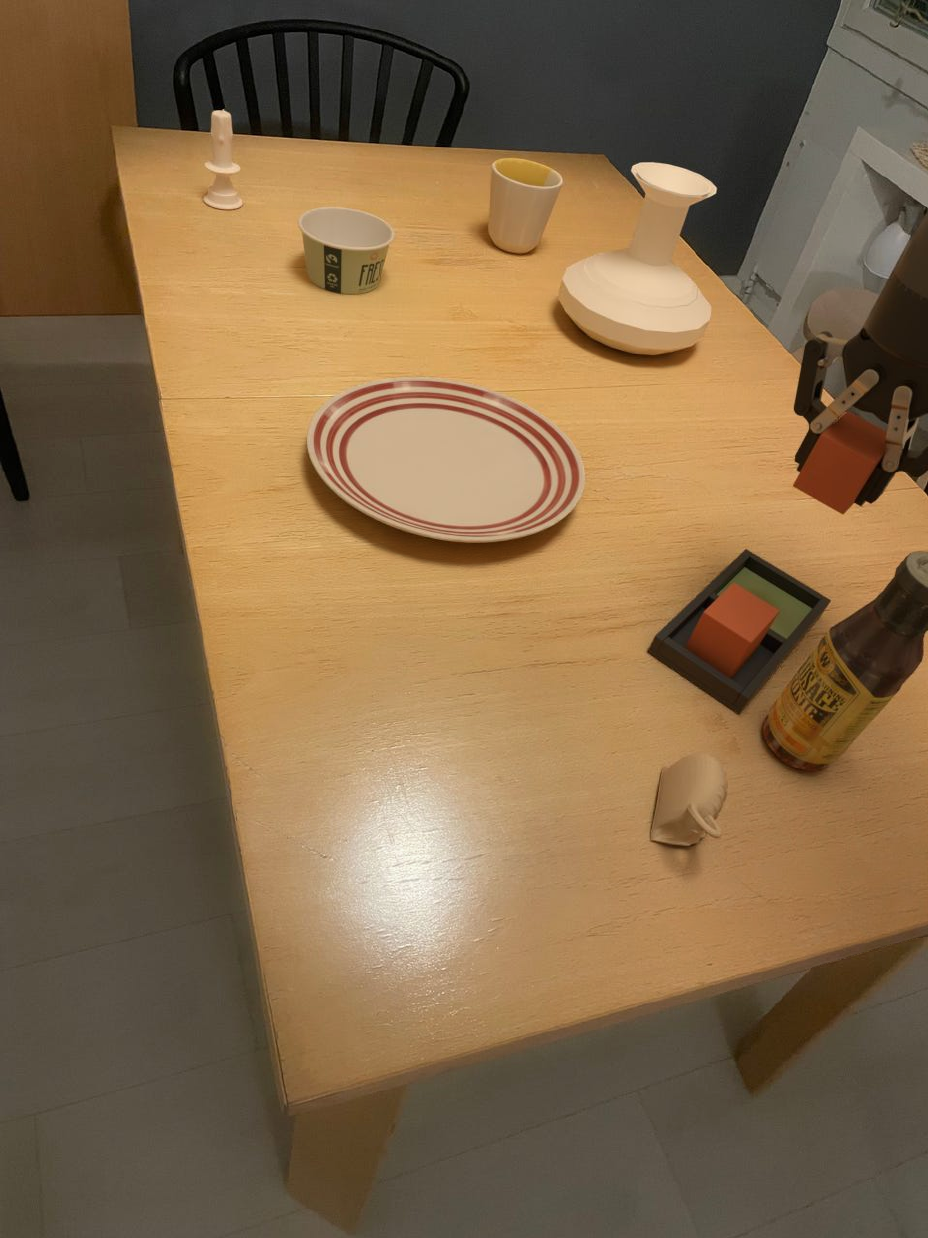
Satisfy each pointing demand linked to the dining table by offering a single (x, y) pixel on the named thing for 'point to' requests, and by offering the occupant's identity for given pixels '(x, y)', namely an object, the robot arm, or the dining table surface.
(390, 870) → the dining table surface
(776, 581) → the pad holder
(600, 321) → the white vase
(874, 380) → the robot arm
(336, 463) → the dinner plate
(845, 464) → the orange block
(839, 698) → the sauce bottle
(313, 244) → the food container
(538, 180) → the mug
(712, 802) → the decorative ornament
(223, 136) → the candle
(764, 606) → the orange rectangular block
